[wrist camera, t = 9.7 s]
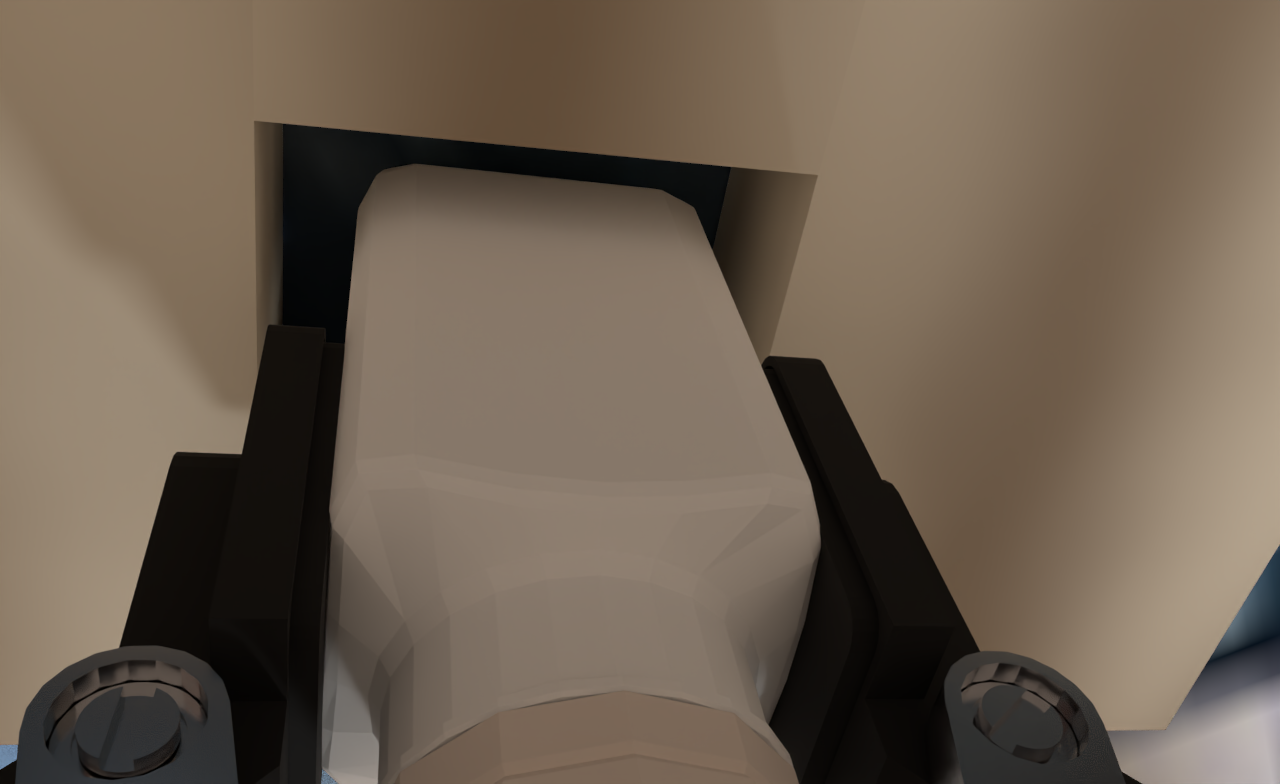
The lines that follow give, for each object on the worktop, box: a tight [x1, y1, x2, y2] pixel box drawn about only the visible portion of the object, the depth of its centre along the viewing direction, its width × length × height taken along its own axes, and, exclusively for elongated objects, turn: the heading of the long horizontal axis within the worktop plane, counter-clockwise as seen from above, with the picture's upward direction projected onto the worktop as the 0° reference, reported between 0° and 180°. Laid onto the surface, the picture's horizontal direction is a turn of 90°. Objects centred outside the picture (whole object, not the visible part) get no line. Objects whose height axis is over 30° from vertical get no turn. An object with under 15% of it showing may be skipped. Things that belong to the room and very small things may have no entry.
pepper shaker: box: [322, 163, 821, 784], centre depth 11 cm, size 4×4×10 cm
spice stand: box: [0, 0, 1280, 745], centre depth 14 cm, size 22×12×3 cm, turn 80°
